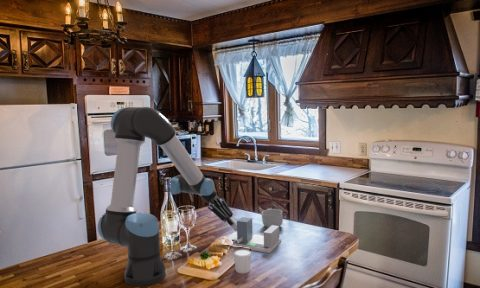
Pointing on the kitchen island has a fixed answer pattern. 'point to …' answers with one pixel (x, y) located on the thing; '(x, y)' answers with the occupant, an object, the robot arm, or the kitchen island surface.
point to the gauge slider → (244, 229)
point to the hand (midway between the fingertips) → (238, 229)
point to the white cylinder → (242, 260)
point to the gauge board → (260, 240)
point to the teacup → (272, 217)
